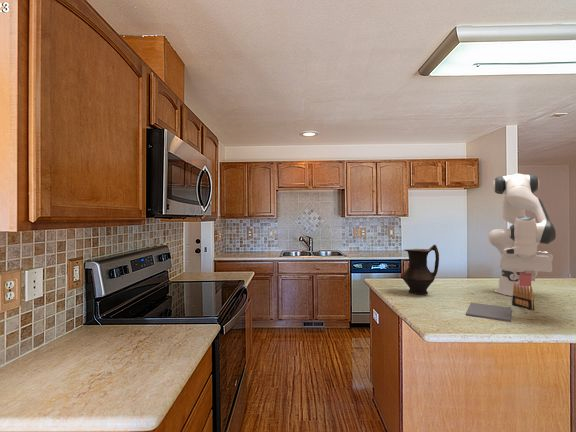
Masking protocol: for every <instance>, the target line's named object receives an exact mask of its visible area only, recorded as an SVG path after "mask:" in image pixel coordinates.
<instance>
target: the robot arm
mask: <svg viewBox="0 0 576 432" xmlns="http://www.w3.org/2000/svg"><path fill="white" fill-rule="evenodd" d="M492 188H493V191H494V193H496V194H498V195H503V197H502V218H503V220H504V221H506V222H507V223H509V224H511V225H510V226H509V228H497V229H492V230H490V232H489V234H488V237H487V238H488V242H489V243H490V244H491V245H492V246H493V247H495V248H496V250H498V252H499V254H500V256H501V258H500V266H499V268H501V277H499V278H498V288H496V289H495V290H494V292H495V293H496V294H497V293H498V294H501V295H504V296H505V295H506V296H510V297H512V295H513V288H514V283H516V290H517V284H519V275H520V272H523V273H527V271H528V272H533V274H534V275H533V276H532V275H531V282H536V277H537V276H538V275H539V273H542V272H543V273H552V272H553V264H552V262H553V261H554V254H553V253H551V252H550V251H539V250H538V246H539V244H544V245H549V244H551V243H552V242H554V240H556V238H557V232H556V229H555V226H554V224H553V223H552V221H551V219H550V216H549V214H548V213H547V210H546V207H545V205H544V203H543V201H542V200H541V198H539V197H537V196H536V195H534V193H536V192H537V191H538V189H539V188H540V180H539V177H538V176H537V175H535V174H522V173H514V174H511V175H500V176H497V177H495V178H494V179H493V182H492ZM526 211H529V212H532V213H533V214H534V215H535V217H536V218H537V220H536V218H535V217H533V216H530V215H526ZM537 221H538V222H537ZM522 287H523V286H522ZM526 288H527V286H526ZM519 289H520V285H519Z"/></svg>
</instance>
